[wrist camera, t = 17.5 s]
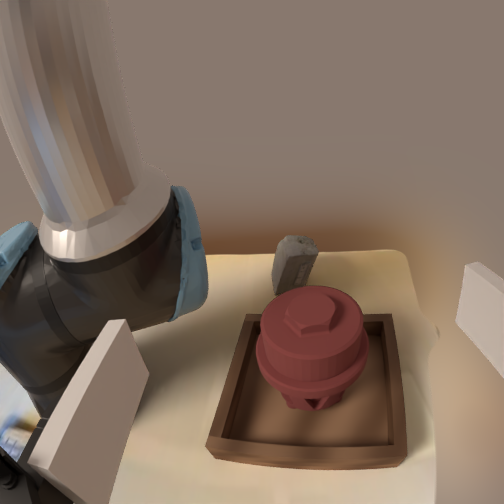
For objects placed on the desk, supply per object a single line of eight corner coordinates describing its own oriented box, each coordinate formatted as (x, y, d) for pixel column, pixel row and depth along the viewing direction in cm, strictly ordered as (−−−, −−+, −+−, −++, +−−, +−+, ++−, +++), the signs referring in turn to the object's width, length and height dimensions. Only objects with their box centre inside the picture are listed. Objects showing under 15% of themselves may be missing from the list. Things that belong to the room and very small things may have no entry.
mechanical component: (267, 435, 26) (265, 359, 34) (367, 421, 25) (349, 348, 34) (246, 366, 19) (248, 277, 28) (391, 345, 19) (356, 263, 27)
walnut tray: (215, 458, 25) (205, 446, 23) (250, 333, 40) (246, 313, 38) (397, 466, 21) (407, 455, 19) (387, 334, 36) (391, 313, 34)
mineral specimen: (280, 307, 43) (269, 254, 40) (268, 282, 51) (257, 237, 48) (329, 292, 43) (321, 240, 40) (310, 270, 51) (302, 225, 48)
